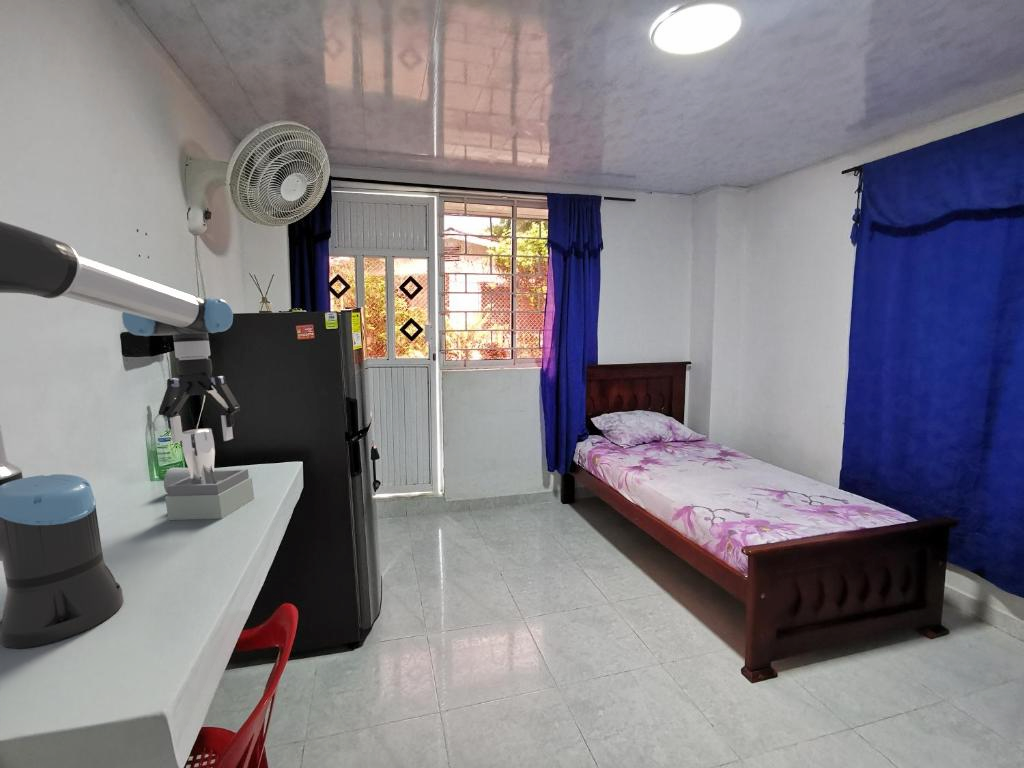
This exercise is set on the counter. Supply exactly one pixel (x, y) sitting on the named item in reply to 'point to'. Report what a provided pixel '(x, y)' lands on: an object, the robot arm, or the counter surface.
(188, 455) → the beer glass
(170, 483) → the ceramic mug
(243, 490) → the grey box with knob
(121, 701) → the counter surface
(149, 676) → the counter surface
